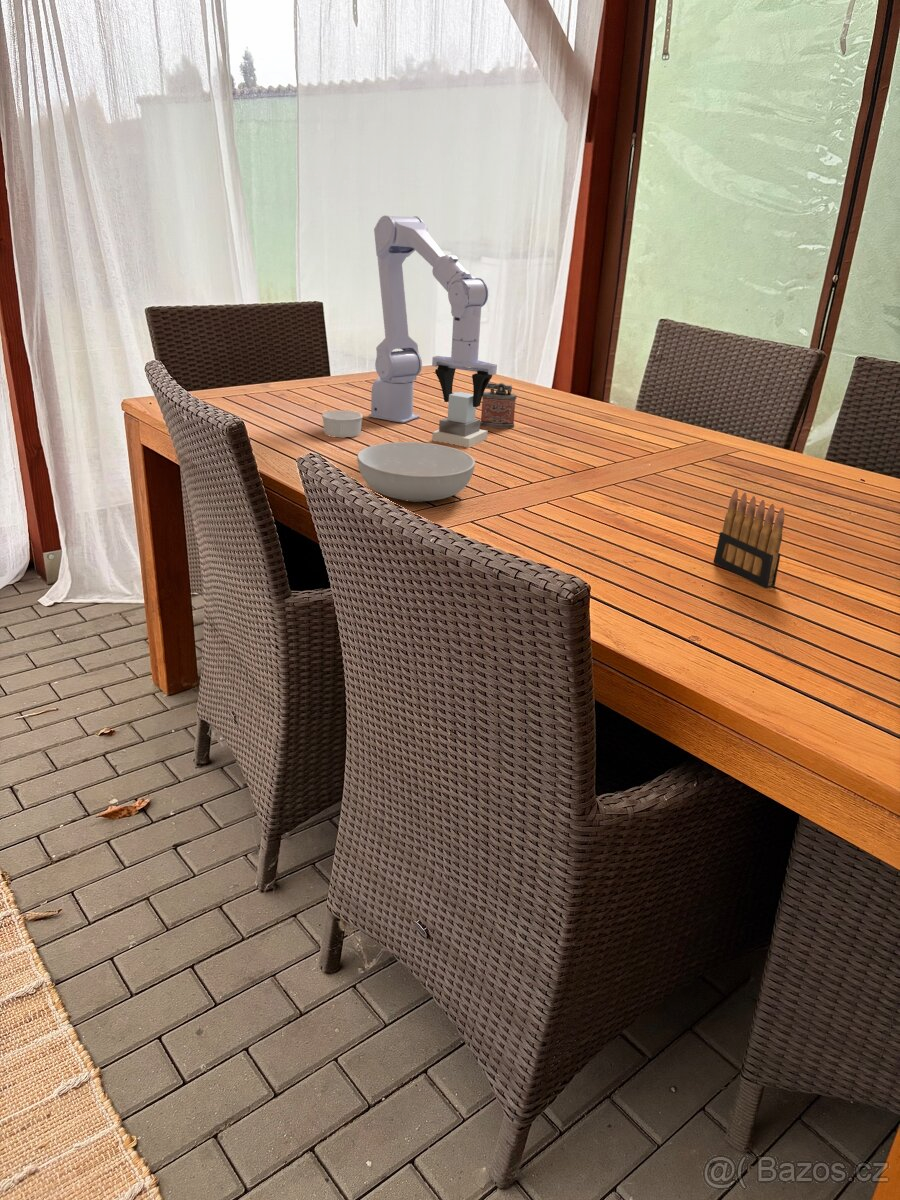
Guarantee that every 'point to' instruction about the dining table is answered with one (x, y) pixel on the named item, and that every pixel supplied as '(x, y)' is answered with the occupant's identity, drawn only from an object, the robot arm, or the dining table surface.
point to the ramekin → (342, 423)
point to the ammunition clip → (750, 541)
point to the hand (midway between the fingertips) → (461, 403)
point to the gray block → (461, 407)
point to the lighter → (498, 406)
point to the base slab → (460, 438)
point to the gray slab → (459, 427)
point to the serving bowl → (415, 470)
